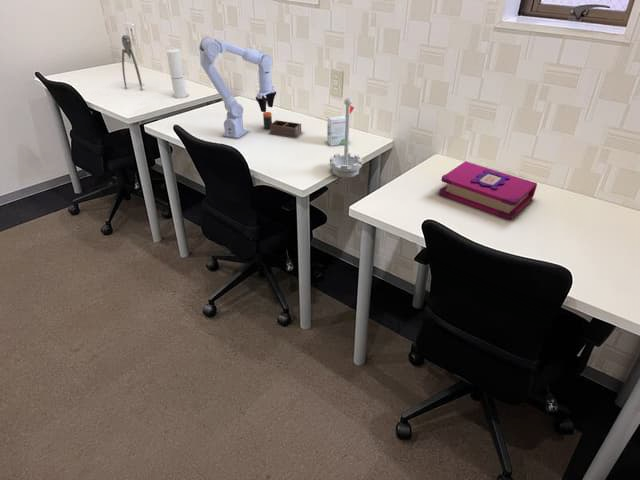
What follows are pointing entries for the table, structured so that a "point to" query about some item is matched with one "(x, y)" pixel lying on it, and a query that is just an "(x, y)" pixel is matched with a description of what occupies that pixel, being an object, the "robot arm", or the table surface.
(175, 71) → the cylindrical container
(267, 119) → the grey and orange cylinder
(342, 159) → the flag stand
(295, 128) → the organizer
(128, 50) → the juicer
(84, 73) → the table surface
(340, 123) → the ink box
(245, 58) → the robot arm
